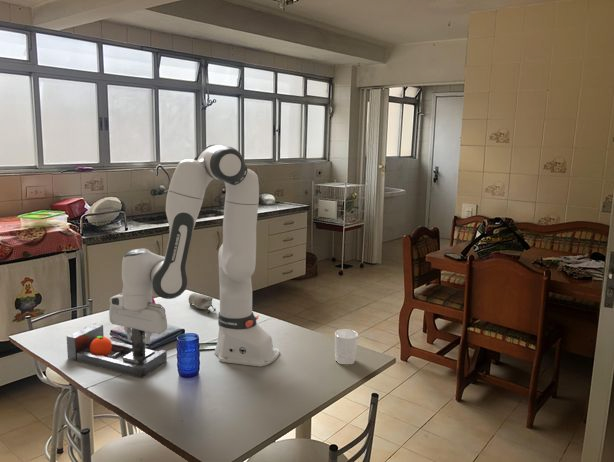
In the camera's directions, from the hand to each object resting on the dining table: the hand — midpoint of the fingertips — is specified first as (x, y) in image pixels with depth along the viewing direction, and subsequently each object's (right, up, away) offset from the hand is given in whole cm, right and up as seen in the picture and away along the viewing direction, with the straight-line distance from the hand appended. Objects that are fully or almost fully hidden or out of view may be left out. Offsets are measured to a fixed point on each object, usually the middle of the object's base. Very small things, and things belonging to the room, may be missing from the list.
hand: (138, 341), depth 161 cm
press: (-9, -7, +5) cm, 12 cm away
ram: (0, -8, +2) cm, 8 cm away
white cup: (+67, -9, +11) cm, 68 cm away
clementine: (-15, -7, +7) cm, 18 cm away
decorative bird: (+9, +1, +55) cm, 55 cm away
